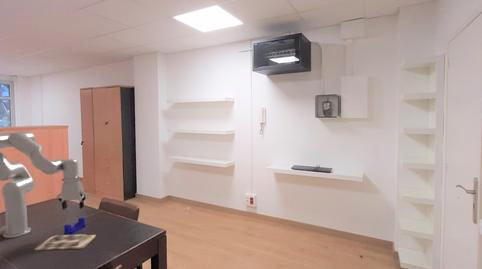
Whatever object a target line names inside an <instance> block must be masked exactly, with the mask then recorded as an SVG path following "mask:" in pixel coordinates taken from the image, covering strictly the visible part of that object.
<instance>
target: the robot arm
mask: <svg viewBox="0 0 482 269" xmlns="http://www.w3.org/2000/svg"><path fill="white" fill-rule="evenodd" d="M11 147H13V148H14V149H16V150H18V151H19V152H21V153H22V154H23V155H25V156H27V157H28V158H29V160H30V163H31V164H32V165H33V166H34V168H35V169H37V170H39V171H40V172H41V173H43V174H45V175H49V176H52V175H55V174H57V173H58V174H59V173H60V172H62V173H63V174H62V177H63V178H61V182H63V183H61V191H60V192H61V193H58V194H57V195H56V198H57V199H58V201H59V202H60V203H61V208H62V210H66V209H67V208H68V204H67V201H77V200H78V201H79V209H80V210H81V209H82V208H84V206H85V202H84V201H85V200H86V199H87V197H88V193H87V192H85V191H83V188H82V187H83V186H82V183H81V181H80V179H79V178H80V177H79V163H78V159H73V158H71V159H63V158H61V159H60V158H58V159H54V160H49V159H48V158H46V157H45V156H43V154H42V153H41V152H42V150H43V146H42V145H41V144H39V143H38V142H36V137H35V134H33V133H32V132H29V131H16V132H6V133H0V149H3V148H4V149H5V148H11ZM8 180H10V181H8ZM0 181H4V182H5V181H8V182H6V183H5V184H4V185H2V188H1V195H2V197H3V202H4V213H5V214H4V215H5V216H4V217H5V225H4V226H1V227H0V232H4V233H3V234H2V237H3V238H5V239H6V238H7V239H11V238H17V237H21V236H25V235H27V234H28V233H30V232H31V231H32V228H31V227H30V226H28V212H27V201H26V198H25V196H24V194H26V193H29V192H30V191H32V190H33V189H34V188H35V181H34V178H33V177H32V175H31V174H30V173H29V171H28V169H27V168H26V166H25V165H24V164H23V163H21V162H19V161H12V162H10V161H9V159H8V158H7V157H6V155H4V153H3V152H1V151H0Z"/></svg>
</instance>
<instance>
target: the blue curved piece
mask: <svg viewBox="0 0 482 269" xmlns="http://www.w3.org/2000/svg"><path fill="white" fill-rule="evenodd" d="M85 219H86V218H85V217H79V218H78V219H77V220H78V221H77V222H76V223H74V225H73V226H72V225H71V224H67V223H66V224H64V225H63V228H64V229H63V231H64V235H74V234H75V233H76V232H78V231H80V230H83V228H84V229H85V228H86V220H85Z"/></svg>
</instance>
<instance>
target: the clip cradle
mask: <svg viewBox="0 0 482 269" xmlns="http://www.w3.org/2000/svg"><path fill="white" fill-rule="evenodd" d="M96 237H97V235H96V234H85V233H83V234H71V235H65V234H64V235H63V234H62V235H61V234H59V235H57V234H56V235H54V236H51V237H49V238H47V239H46V240H45V241H43V242H42V243H41V244H39V245H38V246H36V247H35V248H34V251H50V250H51V251H52V250H53V251H54V250H74V249H84V248H85V247H86V246H87V245H88V244H89V243H91V241H92V240H93V239H95V238H96Z"/></svg>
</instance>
